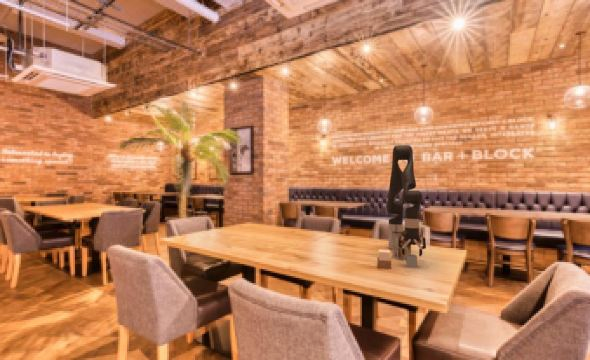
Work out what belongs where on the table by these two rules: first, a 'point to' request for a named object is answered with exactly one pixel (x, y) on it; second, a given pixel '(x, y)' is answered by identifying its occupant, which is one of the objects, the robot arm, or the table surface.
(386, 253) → the tower top
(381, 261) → the tower base
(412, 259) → the slate block
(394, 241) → the coffee box
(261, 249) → the table surface
